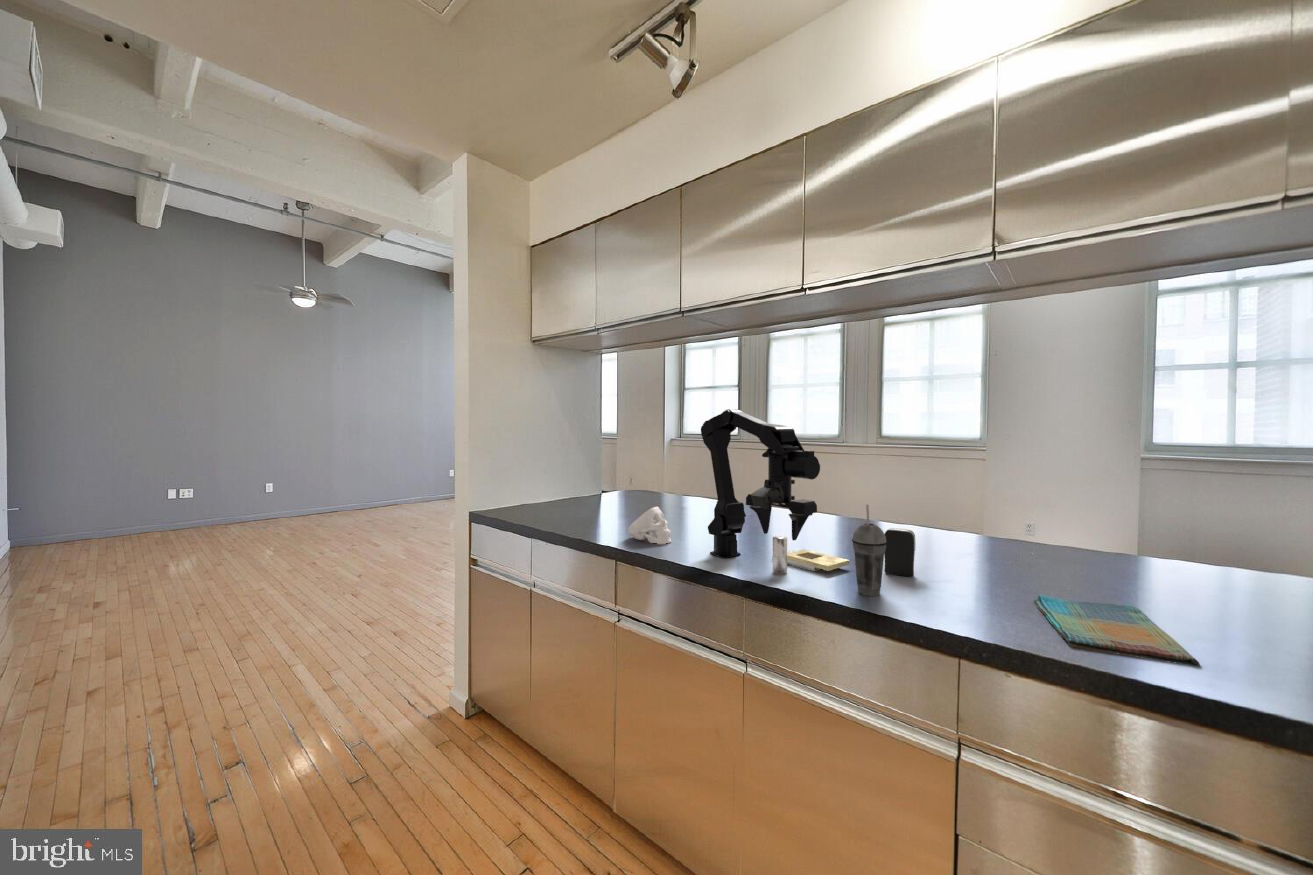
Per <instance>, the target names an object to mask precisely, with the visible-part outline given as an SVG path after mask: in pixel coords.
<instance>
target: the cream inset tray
mask: <svg viewBox="0 0 1313 875" xmlns="http://www.w3.org/2000/svg"><path fill="white" fill-rule="evenodd" d="M771 560H772V561H773V555H772V557H771ZM788 564H789V566H791V567H796V568H798V569H799V568H800V569H802V570H803V569H804V570H806V569H808V570H807V571H810V570H811V571H810V572H813V571H814V572H813V573H815V571H816V572H819V571H821V570H820V569H823V571H827V572H828V571H833V570H836V569H839V568H842V567H846V566H849V565H850V560H849V559H846V558H842V557H837V556H834V555H830V554H825V553H821V552H817V551H813V550H809V549H806V548H805V549H804V548H803V549H800V550H791V551H787V565H788ZM818 570H819V571H818Z"/></svg>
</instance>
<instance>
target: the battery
mask: <svg viewBox="0 0 1313 875" xmlns="http://www.w3.org/2000/svg"><path fill="white" fill-rule="evenodd" d="M884 534H885V536H886V542H887V544H886V550H885V553H884V570H883V571H884V573H885V574H889V575H896V576H901V577H910V578H911V577H912V578H913V577H915V556H916V555H915V554H916V534H915V532H914V531H912V530H911V529H906V528H896V527H891V528H888V529H887V530H885V532H884Z"/></svg>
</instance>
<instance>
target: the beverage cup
mask: <svg viewBox="0 0 1313 875" xmlns="http://www.w3.org/2000/svg"><path fill="white" fill-rule="evenodd" d="M865 506H866V523H862V524H861V525H860V524H859V526H858V527H857V528H856V529H855V530H854V532H853V534H852V539H851V542H852V548H853V551H854V552H853V553H854V561H855V562H854V564H855V573H856V574H855V575H856V586H857V592H858V594H861V595H863V596H868V597H877V596H879V595H880V594H881V588H882V578H883V571H884V570H883V569H884V562H885V557H884V553H885V550H886V544H887V542H886V536H885V532H884V531H883V529H882V528H881V527H879V526H878V525H876V524H874V523H870V509H869V507H870V506H869V504H866V505H865Z"/></svg>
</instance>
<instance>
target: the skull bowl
mask: <svg viewBox="0 0 1313 875" xmlns="http://www.w3.org/2000/svg"><path fill="white" fill-rule="evenodd" d="M668 527H669V523H668V521H667V520H666V519H665V515H664V513H663V512H662V510H661V509H660V507H659V506H654V507H651V508H650V509H648V510H646V511H645V512H644V513H642V514H641V515H639V517H638V518H636V519H635V520H634V521H633V522H632V523H631V524H630V525H629V527H628V529H627V531H628V533H629V535H630V536H631V537H632V538H633V539H636V540H638V541H643V540H648V542H649V543H650V544H652V543H657V544H656V545H667V544H666V543H668V544H671V543H672V540H671V533H672V532H671V530H670V529H668ZM670 542H671V543H670Z"/></svg>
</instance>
